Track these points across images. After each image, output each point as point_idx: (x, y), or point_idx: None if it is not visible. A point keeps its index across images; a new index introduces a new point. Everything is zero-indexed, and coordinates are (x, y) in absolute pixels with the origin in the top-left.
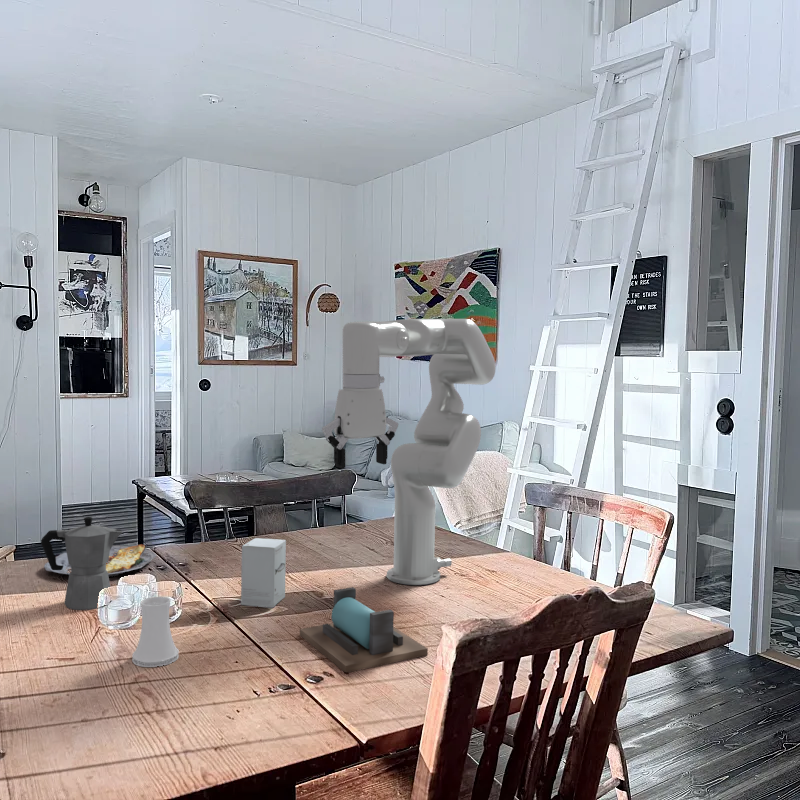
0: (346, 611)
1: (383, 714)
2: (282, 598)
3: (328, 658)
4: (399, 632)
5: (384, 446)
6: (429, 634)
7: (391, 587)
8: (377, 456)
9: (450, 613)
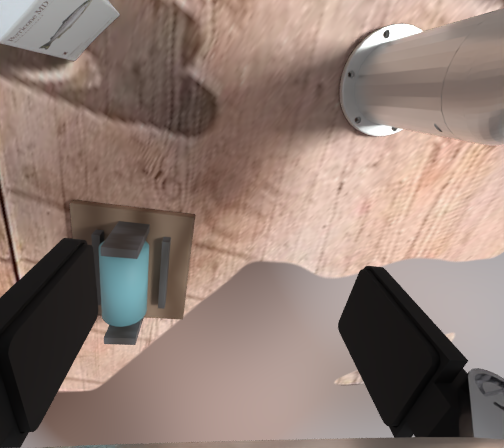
0: (102, 282)
1: (77, 373)
2: (109, 24)
3: None
4: (184, 276)
5: (391, 430)
6: (223, 277)
7: (317, 104)
8: (375, 300)
9: (293, 242)
